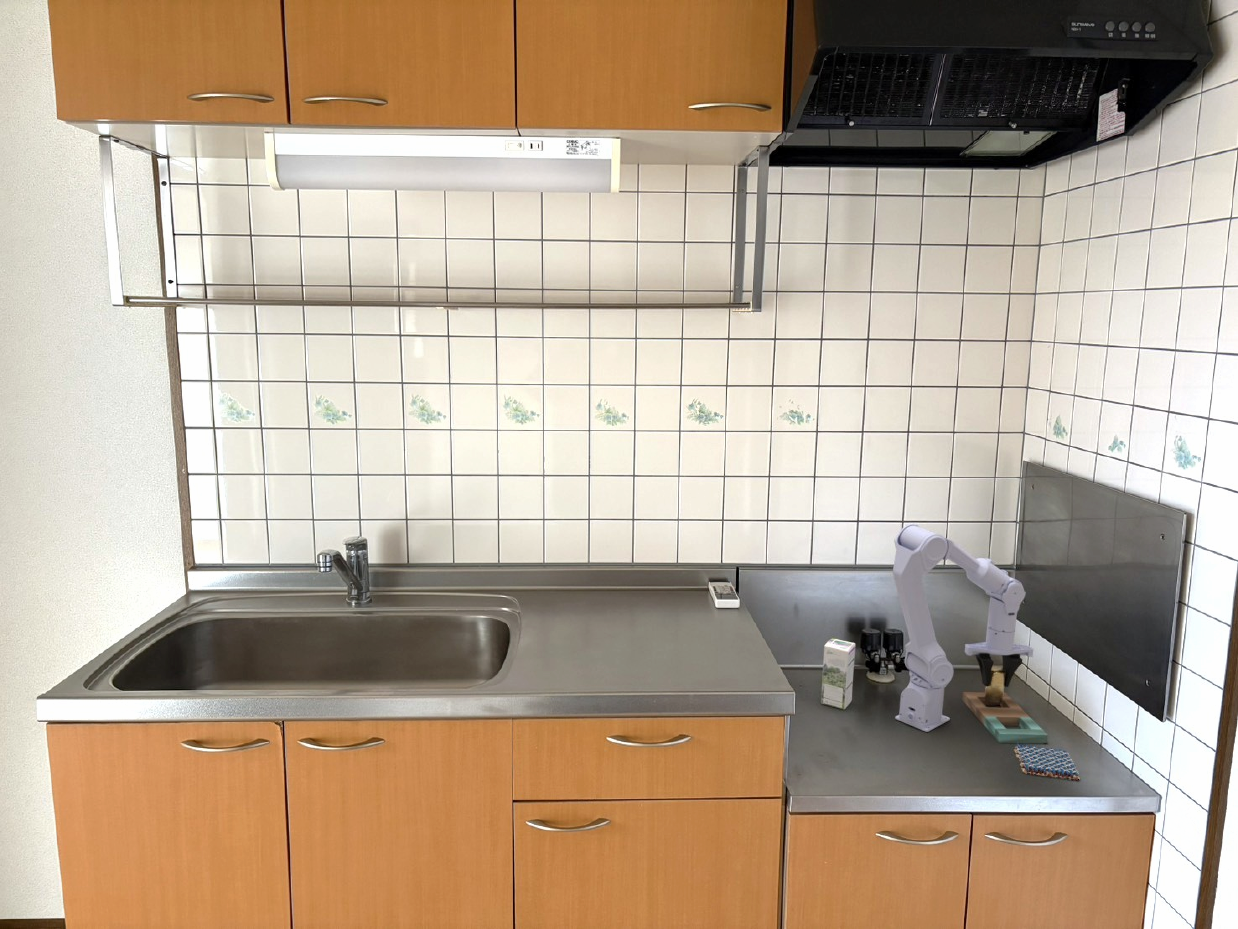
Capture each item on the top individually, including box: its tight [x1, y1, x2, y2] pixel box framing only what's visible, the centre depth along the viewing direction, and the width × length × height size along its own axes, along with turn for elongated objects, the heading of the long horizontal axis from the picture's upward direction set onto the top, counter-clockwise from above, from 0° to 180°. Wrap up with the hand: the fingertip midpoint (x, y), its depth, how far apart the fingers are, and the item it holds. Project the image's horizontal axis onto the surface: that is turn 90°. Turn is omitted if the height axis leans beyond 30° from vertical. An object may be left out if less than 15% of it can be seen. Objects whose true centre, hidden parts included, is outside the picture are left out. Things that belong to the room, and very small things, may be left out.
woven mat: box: [1013, 743, 1081, 781], centre depth 171 cm, size 10×11×2 cm
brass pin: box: [984, 666, 1006, 703], centre depth 193 cm, size 4×4×7 cm
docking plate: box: [961, 691, 1048, 744], centre depth 189 cm, size 20×10×2 cm, turn 0°
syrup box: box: [820, 638, 856, 710], centre depth 195 cm, size 6×6×14 cm
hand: (995, 684), depth 193 cm, fingers closed on brass pin, 4 cm apart
